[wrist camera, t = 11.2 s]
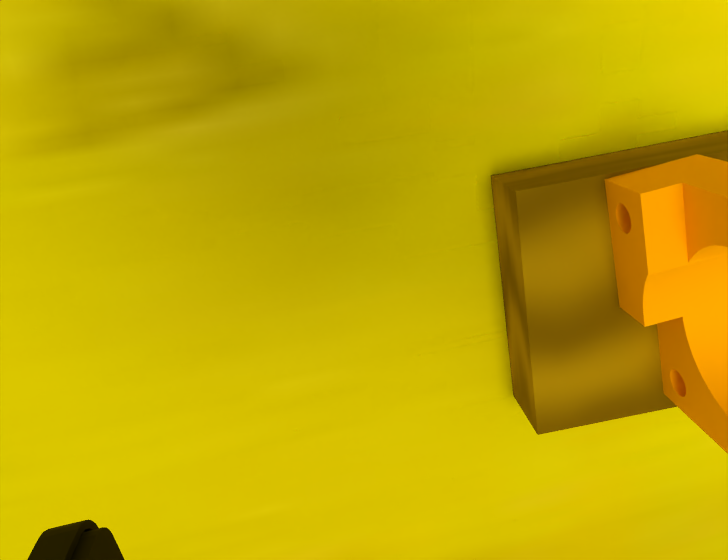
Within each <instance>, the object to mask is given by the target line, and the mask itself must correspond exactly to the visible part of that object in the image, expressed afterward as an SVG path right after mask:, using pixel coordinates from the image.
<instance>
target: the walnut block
mask: <svg viewBox="0 0 728 560" xmlns="http://www.w3.org/2000/svg"><path fill="white" fill-rule="evenodd" d="M696 154H698V155H703V156H707V157H711V158H715V159H719V160H723V161H727V162H728V131H723V132H717V133H712V134H707V135H702V136H696V137H691V138H686V139H681V140H675V141H670V142H665V143H660V144H655V145H649V146H644V147H639V148H634V149H628V150H623V151H618V152H613V153H607V154H602V155H597V156H592V157H586V158H581V159H576V160H571V161H566V162H560V163H555V164H550V165H545V166H539V167H534V168H529V169H524V170H518V171H513V172H508V173H503V174H497V175H492V176H491V181H492V191H493V200H494V210H495V220H496V229H497V239H498V249H499V258H500V268H501V278H502V287H503V297H504V307H505V316H506V326H507V336H508V346H509V355H510V365H511V375H512V384H513V394H514V397H515V399H516V400H517V402H518V404H519V405H520V407H521V408H522V410H523V412H524V413H525V415H526V416H527V418H528V420H529V421H530V423H531V425H532V426H533V428H534V429H535V431H536V433H537V434H543V433H548V432H553V431H558V430H563V429H568V428H573V427H578V426H583V425H588V424H593V423H598V422H603V421H608V420H613V419H618V418H622V417H627V416H632V415H637V414H642V413H647V412H652V411H657V410H662V409H667V408H672V407H677V405H675V404H674V403H673V402H672V401H671V400H670V399H669V398H668V397H667V396H666V395H665V394H664V391H663V381H662V371H661V360H660V350H659V340H658V329H657V324H654V325H650V326H646V327H644V326H643V325H642V324H641V323H639V322H638V321H637V320H636V319H634V318H633V317H632V316H631V315H629V314H628V313H627V312H625V311H624V310H623V309H622V308H620V306H619V297H618V289H617V280H616V272H615V263H614V255H613V247H612V238H611V230H610V221H609V213H608V204H607V196H606V187H605V179H608V178H611V177H615V176H619V175H622V174H626V173H630V172H633V171H637V170H641V169H645V168H648V167H652V166H656V165H659V164H663V163H667V162H670V161H674V160H678V159H681V158H685V157H689V156H692V155H696Z"/></svg>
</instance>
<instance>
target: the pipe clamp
mask: <svg viewBox="0 0 728 560" xmlns="http://www.w3.org/2000/svg"><path fill="white" fill-rule="evenodd" d="M605 187H606V196H607V204H608V213H609V221H610V230H611V238H612V247H613V255H614V263H615V272H616V280H617V289H618V297H619V306H620V308H622V309H623V310H624V311H625V312H627V313H628V314H629V315H631V316H632V317H633V318H634V319H636V320H637V321H638V322H639V323H641V324H642V325H643V326H644V327H646V326H650V325H654V324H657V329H658V340H659V350H660V360H661V371H662V381H663V391H664V394H665V395H666V396H667V397H668V398H669V399H670V400H671V401H672V402H673V403H674V404H675V405H677V406H678V407H679V408H680V409H681V410H682V411H683V412H684V413H685V414H686V415H687V416H688V417H689V418H690V419H691V420H693V421H694V422H695V423H696V424H697V425H698V426H699V427H700V428H701V429H702V430H703V431H704V432H705V433H706V434H708V435H709V436H710V437H711V438H712V439H713V440H714V441H715V442H716V443H717V444H718V445H719V446H720V447H721V448H722V449H724V450H725V451H726V452H727V453H728V162H727V161H723V160H719V159H715V158H711V157H707V156H703V155H698V154H696V155H692V156H689V157H685V158H681V159H678V160H674V161H670V162H667V163H663V164H659V165H656V166H652V167H648V168H645V169H641V170H637V171H633V172H630V173H626V174H622V175H619V176H615V177H611V178H608V179H605Z"/></svg>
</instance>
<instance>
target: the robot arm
mask: <svg viewBox="0 0 728 560" xmlns="http://www.w3.org/2000/svg"><path fill="white" fill-rule="evenodd" d="M28 560H124V558H123V556H122V554H121V551H120V549H119V547H118V545H117V543H116V541H115V539H114V537H113V535H112V533H111V531H110V530H109V529H108V528H98V526H97V525H96V523H94V522H93V521H92V520H85V521H80V522H76V523H72V524H68V525H63V526H59V527H55V528H51V529H48V530H46V531H44V532H43V533H42V534H41V536H40V537H39V539H38V541H37V542H36V544H35V546H34V548H33V550H32V552H31V554H30V556H29V558H28Z"/></svg>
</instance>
